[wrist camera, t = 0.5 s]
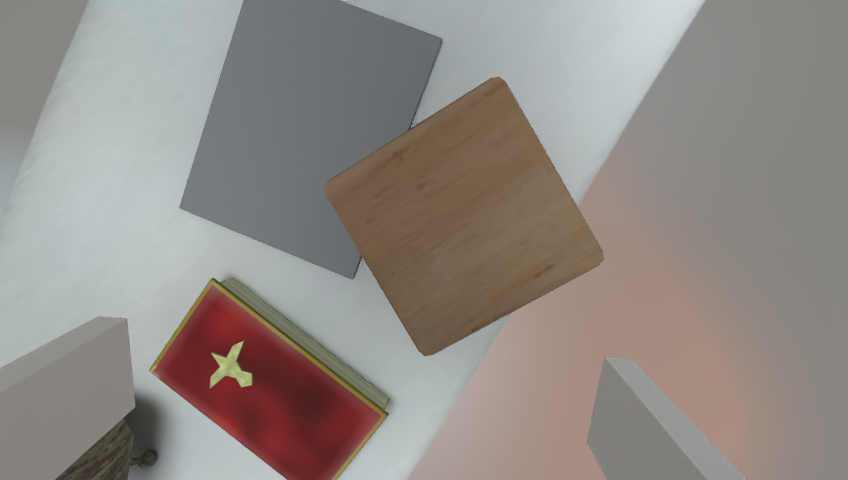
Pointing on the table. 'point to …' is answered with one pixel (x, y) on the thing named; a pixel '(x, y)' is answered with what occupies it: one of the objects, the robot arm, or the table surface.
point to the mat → (303, 120)
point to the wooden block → (463, 218)
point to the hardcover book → (269, 384)
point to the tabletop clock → (108, 457)
